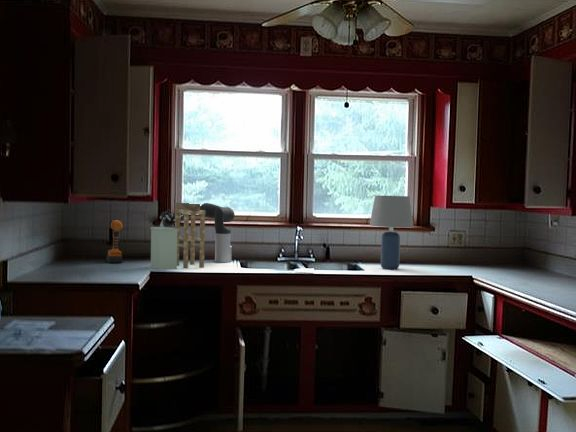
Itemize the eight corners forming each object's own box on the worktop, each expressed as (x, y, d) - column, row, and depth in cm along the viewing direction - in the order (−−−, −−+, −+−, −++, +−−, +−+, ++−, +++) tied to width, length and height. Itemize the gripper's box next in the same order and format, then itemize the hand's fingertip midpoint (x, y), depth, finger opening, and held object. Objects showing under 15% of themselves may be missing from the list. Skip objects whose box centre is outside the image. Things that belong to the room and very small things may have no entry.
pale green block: (168, 265, 331) (168, 226, 330) (177, 268, 319) (178, 228, 318) (150, 266, 325) (150, 227, 324) (158, 269, 313) (159, 229, 312)
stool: (193, 264, 340) (194, 209, 338) (204, 267, 326) (205, 210, 325) (173, 265, 333) (174, 209, 332) (184, 268, 320) (185, 210, 318)
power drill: (104, 259, 351) (105, 218, 349) (117, 259, 354) (118, 218, 352) (109, 264, 331) (110, 220, 330) (123, 263, 334) (123, 220, 333)
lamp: (416, 272, 330) (419, 196, 328) (372, 271, 328) (375, 195, 326) (405, 266, 355) (407, 196, 353) (364, 265, 354) (366, 195, 352)
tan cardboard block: (181, 208, 345) (181, 202, 344) (199, 210, 321) (200, 204, 321) (175, 208, 343) (175, 202, 343) (194, 210, 319) (194, 204, 319)
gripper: (180, 228, 359) (188, 216, 347) (157, 228, 352) (165, 215, 340) (178, 217, 362) (186, 205, 350) (155, 217, 355) (163, 204, 343)
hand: (176, 210), depth 345 cm, fingers open, 8 cm apart
